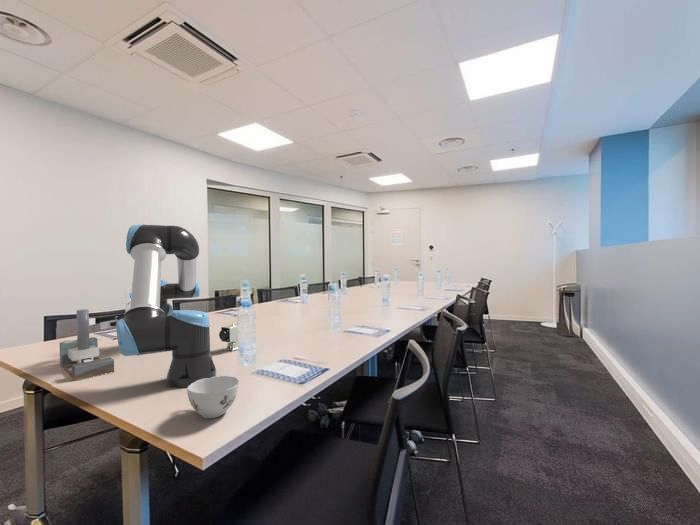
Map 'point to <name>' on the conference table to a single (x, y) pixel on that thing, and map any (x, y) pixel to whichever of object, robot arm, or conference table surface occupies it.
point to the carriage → (83, 339)
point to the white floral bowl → (213, 395)
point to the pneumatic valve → (230, 336)
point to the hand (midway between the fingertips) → (88, 325)
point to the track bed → (84, 362)
